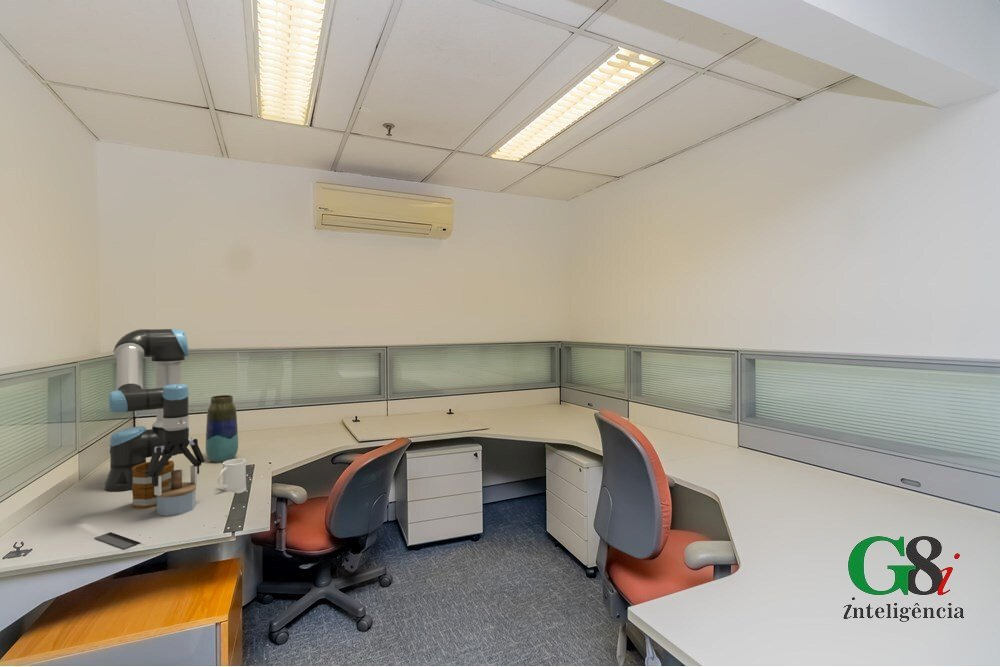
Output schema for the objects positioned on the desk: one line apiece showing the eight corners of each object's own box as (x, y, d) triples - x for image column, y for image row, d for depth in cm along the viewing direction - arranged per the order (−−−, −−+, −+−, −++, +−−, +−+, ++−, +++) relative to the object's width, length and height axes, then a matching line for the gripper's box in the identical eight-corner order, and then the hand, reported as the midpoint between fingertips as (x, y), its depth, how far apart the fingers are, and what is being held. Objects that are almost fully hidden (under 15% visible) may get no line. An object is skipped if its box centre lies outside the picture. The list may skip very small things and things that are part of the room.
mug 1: (167, 510, 170) (167, 469, 169) (123, 514, 166) (122, 472, 165) (186, 491, 188) (186, 454, 188) (147, 494, 185) (146, 457, 184)
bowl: (151, 516, 165) (151, 493, 165) (182, 505, 174) (182, 484, 174) (170, 522, 160) (170, 498, 160) (201, 510, 170) (200, 488, 170)
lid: (148, 494, 164) (148, 473, 164) (183, 483, 175) (182, 464, 175) (169, 499, 159) (169, 478, 159) (203, 488, 170) (203, 468, 170)
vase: (203, 465, 222) (202, 399, 221) (208, 457, 235) (207, 395, 234) (236, 462, 228) (236, 397, 227) (239, 454, 240) (239, 393, 239)
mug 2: (225, 499, 181) (224, 468, 181) (209, 495, 184) (209, 465, 184) (251, 489, 192) (251, 459, 192) (236, 486, 195) (236, 457, 195)
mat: (94, 538, 148) (94, 537, 148) (143, 521, 160) (143, 520, 160) (123, 549, 141) (123, 548, 141) (172, 530, 154) (172, 529, 154)
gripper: (145, 436, 154) (145, 502, 155) (215, 422, 176) (215, 480, 176) (131, 434, 157) (132, 498, 158) (202, 420, 179) (203, 477, 180)
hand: (176, 489), depth 167 cm, fingers closed on lid, 11 cm apart
